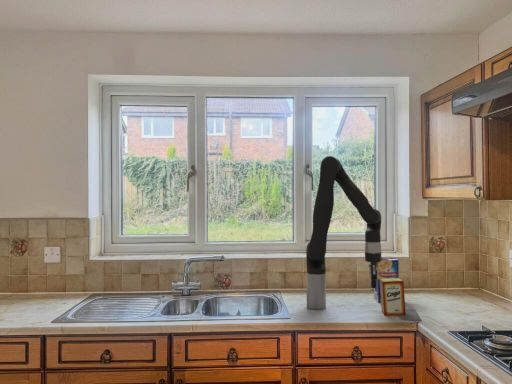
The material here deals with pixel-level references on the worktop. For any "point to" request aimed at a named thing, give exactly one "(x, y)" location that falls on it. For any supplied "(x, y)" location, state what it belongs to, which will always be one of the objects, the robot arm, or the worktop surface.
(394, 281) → the baking soda box
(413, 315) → the mat
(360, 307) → the worktop surface
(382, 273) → the blue cardboard box
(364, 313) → the worktop surface
